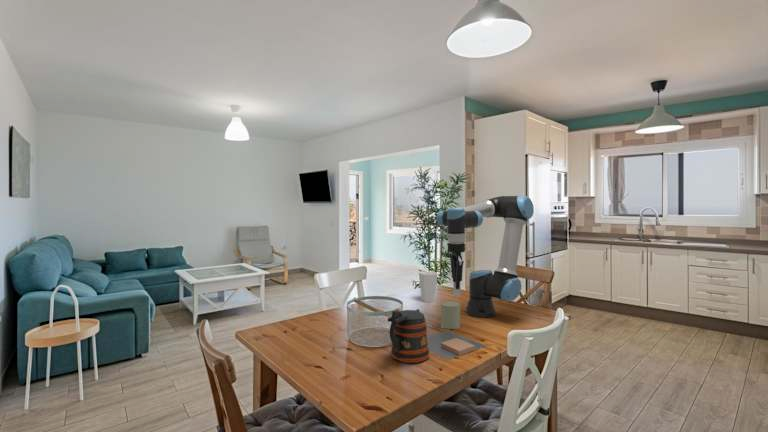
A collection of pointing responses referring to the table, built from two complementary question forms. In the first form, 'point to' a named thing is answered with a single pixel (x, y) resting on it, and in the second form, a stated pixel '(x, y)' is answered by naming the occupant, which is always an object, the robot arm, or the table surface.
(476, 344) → the board
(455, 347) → the tile
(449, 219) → the robot arm
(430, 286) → the cup
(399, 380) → the table surface
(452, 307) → the can
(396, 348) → the beer stein
